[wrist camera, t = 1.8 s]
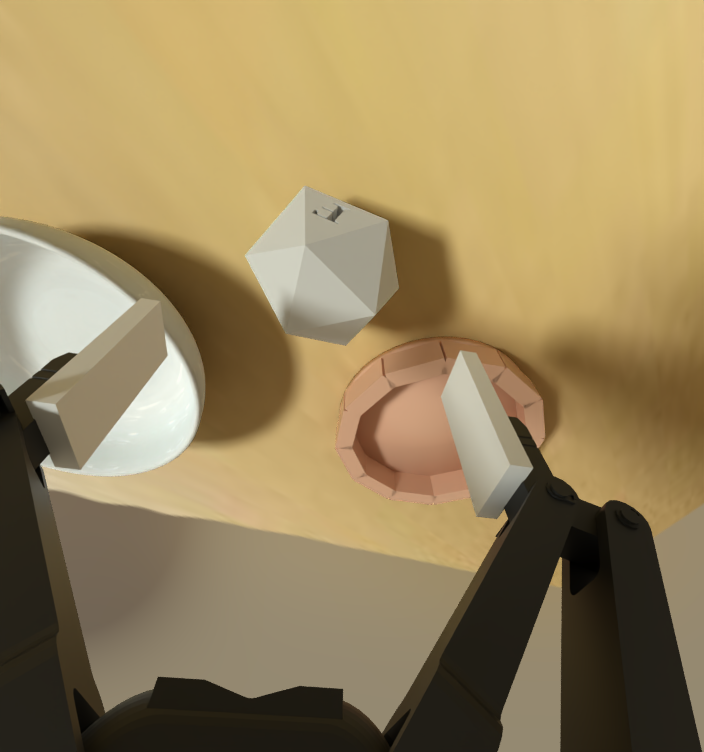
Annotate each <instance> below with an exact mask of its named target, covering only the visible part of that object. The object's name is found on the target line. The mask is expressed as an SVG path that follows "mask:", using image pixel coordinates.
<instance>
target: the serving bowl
mask: <svg viewBox="0 0 704 752" xmlns="http://www.w3.org/2000/svg"><path fill="white" fill-rule="evenodd" d="M141 298H145V299H151V300H157V301H160V302H161V310H162V317H163V324H164V332H165V339H166V347H167V354H168V356H167V357H166V359H165V360H164V361H163V363H162V364H161V365H160V366H159V368H158V369H157V370H156V372H155V373H154V374H153V376H152V377H151V378H150V380H149V381H148V382H147V383H146V385H145V386H144V387H143V389H142V390H141V391H140V393H139V394H138V395H137V397H136V398H135V399H134V401H133V402H132V403H131V404H130V406H129V407H128V408H127V410H126V411H125V412H124V414H123V415H122V416H121V418H120V419H119V420H118V421H117V423H116V424H115V425H114V427H113V428H112V429H111V431H110V432H109V433H108V435H107V436H106V437H105V439H104V440H103V441H102V442H101V444H100V445H99V446H98V448H97V449H96V450H95V452H94V453H93V454H92V456H91V457H90V458H89V459H88V461H87V462H86V463H85V465H84V466H83V467H82V469H81V470H77V469H68V468H60V467H55V466H54V464H53V462H52V460H51V457H50V455H48V456H47V457H46V458H45V460H44V461H43V462H42V463H41V464H40V465H41V466H44V467H47V468H51V469H55V470H60V471H64V472H69V473H75V474H82V475H91V476H126V475H134V474H139V473H143V472H147V471H150V470H153V469H156V468H159V467H161V466H163V465H165V464H167V463H169V462H171V461H172V460H174V459H175V458H177V457H178V456H179V455H180V454H181V453H182V452H184V451H185V450H186V449H187V447H188V446H189V445H190V443H191V442H192V440H193V439H194V437H195V435H196V433H197V430H198V428H199V424H200V421H201V417H202V412H203V408H204V402H205V373H204V367H203V363H202V359H201V355H200V352H199V349H198V347H197V344H196V342H195V340H194V337H193V336H192V334H191V332H190V330H189V328H188V326H187V325H186V323H185V321H184V320H183V318H182V317H181V315H180V314H179V312H178V311H177V310H176V308H175V307H174V306H173V305H172V303H171V302H170V301H169V300H168V299H167V297H166V296H165V295H164V294H163V293H162V292H161V291H160V290H159V289H158V288H157V287H156V286H155V285H154V284H153V283H152V282H151V281H149V280H148V279H147V278H146V277H145V276H144V275H142V274H141V273H140V272H139V271H137V270H136V269H135V268H134V267H132V266H131V265H129V264H128V263H126V262H125V261H123V260H122V259H120V258H119V257H117V256H116V255H114V254H112V253H111V252H109V251H107V250H105V249H104V248H102V247H100V246H98V245H96V244H94V243H92V242H90V241H88V240H85V239H83V238H81V237H79V236H76V235H74V234H71V233H69V232H66V231H63V230H60V229H57V228H54V227H51V226H48V225H44V224H40V223H36V222H32V221H27V220H21V219H15V218H9V217H0V384H1V385H2V386H3V388H4V389H5V391H6V393H7V395H8V396H9V395H10V394H11V393H12V392H14V391H15V390H16V389H17V388H18V387H20V386H21V385H22V384H23V383H24V382H26V381H27V380H28V379H29V378H32V376H33V375H34V374H35V373H37V372H38V371H41V368H43V367H44V366H45V365H46V364H47V363H49V362H50V361H51V360H52V359H55V358H57V357H59V356H61V355H64V354H66V353H68V352H70V353H76V354H78V353H79V352H80V351H82V350H83V349H84V348H85V347H86V346H87V345H88V344H90V343H91V342H92V341H93V340H94V339H95V338H96V337H98V336H99V335H100V334H101V333H102V332H103V331H104V330H105V329H107V328H108V327H109V326H110V325H111V324H112V323H113V322H115V321H116V320H117V319H118V318H119V317H120V316H121V315H123V314H124V313H125V312H126V311H127V310H128V309H129V308H130V307H132V306H133V305H134V304H135V303H136V302H137V301H138V300H140V299H141Z"/></svg>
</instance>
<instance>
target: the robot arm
mask: <svg viewBox="0 0 704 752" xmlns="http://www.w3.org/2000/svg"><path fill="white" fill-rule="evenodd" d="M167 356H168V354H167V347H166V339H165V332H164V324H163V317H162V310H161V302H160V301H157V300H151V299H145V298H141V299H140V300H138V301H137V302H136V303H135V304H134V305H133V306H132V307H130V308H129V309H128V310H127V311H126V312H125V313H124V314H123V315H121V316H120V317H119V318H118V319H117V320H116V321H115V322H113V323H112V324H111V325H110V326H109V327H108V328H107V329H105V330H104V331H103V332H102V333H101V334H100V335H99V336H98V337H96V338H95V339H94V340H93V341H92V342H91V343H90V344H88V345H87V346H86V347H85V348H84V349H83V350H82V351H80V352H79V353H78V354H76V353H70V352H68V353H66V354H64V355H61V356H59V357H57V358H55V359H52V360H51V361H50V362H49V363H47V364H46V365H45V366H44V367H43V368H41V371H38V372H37V373H35V374H34V375H33V376H32V378H29V379H28V380H27V381H26V382H24V383H23V384H22V385H21V386H20V387H18V388H17V389H16V390H15V391H14V392H12V393H11V394H10V395H9V396H8V395H7V393H6V391H5V389H4V388H3V386H2V385H1V384H0V752H497V751H498V748H499V745H500V741H501V738H502V732H503V726H502V724H501V721H500V719H501V713H502V710H503V707H504V704H505V702H506V699H507V697H508V694H509V691H510V688H511V685H512V683H513V680H514V678H515V675H516V672H517V670H518V667H519V664H520V662H521V659H522V657H523V654H524V651H525V648H526V646H527V643H528V640H529V638H530V635H531V632H532V630H533V627H534V624H535V622H536V619H537V616H538V614H539V611H540V608H541V605H542V603H543V600H544V598H545V595H546V592H547V590H548V587H549V584H550V582H551V579H552V576H553V574H554V571H555V568H556V566H557V563H558V560H559V558H560V557H561V558H562V633H561V635H562V636H561V749H560V751H561V752H702V750H701V745H700V741H699V737H698V733H697V728H696V724H695V719H694V715H693V711H692V706H691V702H690V698H689V694H688V689H687V685H686V680H685V676H684V671H683V667H682V662H681V658H680V654H679V650H678V645H677V641H676V636H675V632H674V628H673V623H672V619H671V615H670V611H669V606H668V602H667V597H666V593H665V589H664V584H663V580H662V576H661V571H660V567H659V562H658V558H657V553H656V549H655V545H654V540H653V536H652V532H651V528H650V526H649V524H648V522H647V521H646V519H645V518H644V517H643V516H642V515H641V514H640V513H639V512H638V511H636V510H635V509H634V508H633V507H631V506H629V505H627V504H626V503H623V502H620V501H617V500H610V501H608V502H607V503H605V504H604V506H603V507H602V508H601V507H598V506H596V505H593V504H591V503H588V502H586V501H583V500H581V499H579V498H578V496H577V494H576V492H575V491H574V490H573V489H572V487H571V486H570V485H568V484H567V483H566V482H564V481H563V480H561V479H559V478H557V477H554V476H553V475H552V473H551V471H550V469H549V467H548V465H547V463H546V462H545V460H544V458H543V456H542V454H541V452H540V450H539V449H538V448H537V445H536V443H535V441H534V440H533V439H532V438H533V437H532V436H531V434H530V432H529V430H528V428H527V427H526V426H525V425H524V424H523V423H522V422H521V421H520V420H519V419H518V418H517V417H510V416H507V414H506V412H505V410H504V408H503V406H502V404H501V402H500V400H499V398H498V396H497V394H496V392H495V390H494V388H493V385H492V383H491V381H490V379H489V377H488V375H487V373H486V371H485V369H484V367H483V365H482V363H481V361H480V359H479V357H478V355H477V353H474V352H468V351H462V350H460V352H459V354H458V357H457V359H456V362H455V364H454V366H453V369H452V371H451V374H450V376H449V378H448V381H447V383H446V386H445V388H444V390H443V393H442V395H441V399H442V402H443V406H444V409H445V412H446V416H447V419H448V422H449V426H450V429H451V433H452V436H453V439H454V443H455V446H456V449H457V453H458V456H459V459H460V463H461V466H462V470H463V473H464V476H465V480H466V483H467V486H468V490H469V493H470V497H471V500H472V503H473V507H474V510H475V513H476V517H485V518H494V519H497V518H498V517H499V516H500V514H501V513H502V511H503V510H504V509H505V511H506V514H507V517H508V520H507V521H506V523H505V524H504V525H503V527H502V528H501V529H500V531H499V532H498V534H497V535H496V537H497V538H496V540H495V542H494V543H493V545H492V547H491V548H490V550H489V552H488V554H487V555H486V557H485V559H484V561H483V562H482V564H481V566H480V568H479V569H478V571H477V573H476V575H475V576H474V578H473V580H472V582H471V583H470V585H469V587H468V589H467V590H466V592H465V594H464V596H463V597H462V599H461V601H460V602H459V604H458V606H457V608H456V609H455V611H454V613H453V615H452V616H451V618H450V620H449V622H448V624H447V625H446V627H445V629H444V631H443V632H442V634H441V636H440V638H439V639H438V641H437V643H436V644H435V646H434V648H433V650H432V651H431V653H430V655H429V657H428V658H427V660H426V662H425V663H424V665H423V667H422V669H421V670H420V672H419V674H418V676H417V677H416V679H415V681H414V683H413V684H412V686H411V688H410V690H409V691H408V693H407V695H406V696H405V698H404V700H403V701H402V703H401V704H400V705H399V707H398V709H397V710H396V711H395V713H394V715H393V716H392V718H391V719H390V721H389V723H388V724H387V726H386V728H385V730H384V731H383V733H381V732H380V731H379V729H378V728H377V727H376V725H375V724H374V723H373V722H372V721H371V720H370V719H369V718H368V717H367V716H366V715H365V714H363V713H362V712H361V711H360V710H359V709H357V708H355V707H354V706H352V705H351V704H349V703H347V702H345V701H343V689H334V688H319V687H304V686H298V687H294V688H291V689H287V690H283V691H279V692H275V693H272V694H268V695H264V696H261V697H257V698H246V697H243V696H241V695H239V694H236V693H234V692H232V691H230V690H227V689H225V688H223V687H220V686H218V685H216V684H213V683H211V682H209V681H206V680H199V679H184V678H168V677H158V678H157V681H156V684H155V687H154V689H153V690H149V691H146V692H143V693H141V694H138V695H135V696H133V697H131V698H129V699H127V700H125V701H124V702H122V703H120V704H118V705H117V706H115V707H114V708H112V709H111V710H109V711H108V712H106V713H105V711H104V707H103V703H102V700H101V697H100V694H99V691H98V689H97V686H96V684H95V681H94V678H93V675H92V672H91V667H90V663H89V659H88V655H87V651H86V647H85V642H84V638H83V635H82V630H81V626H80V622H79V618H78V613H77V609H76V606H75V601H74V597H73V592H72V588H71V584H70V580H69V576H68V572H67V567H66V563H65V559H64V555H63V551H62V547H61V542H60V539H59V534H58V530H57V526H56V521H55V517H54V513H53V509H52V505H51V501H50V497H49V492H48V488H47V484H46V480H45V476H44V471H43V469H42V467H41V465H40V464H41V463H42V462H43V461H44V460H45V458H46V457H47V456H48V455H50V457H51V460H52V462H53V464H54V466H55V467H60V468H68V469H77V470H81V469H82V467H83V466H84V465H85V463H86V462H87V461H88V459H89V458H90V457H91V456H92V454H93V453H94V452H95V450H96V449H97V448H98V446H99V445H100V444H101V442H102V441H103V440H104V439H105V437H106V436H107V435H108V433H109V432H110V431H111V429H112V428H113V427H114V425H115V424H116V423H117V421H118V420H119V419H120V418H121V416H122V415H123V414H124V412H125V411H126V410H127V408H128V407H129V406H130V404H131V403H132V402H133V401H134V399H135V398H136V397H137V395H138V394H139V393H140V391H141V390H142V389H143V387H144V386H145V385H146V383H147V382H148V381H149V380H150V378H151V377H152V376H153V374H154V373H155V372H156V370H157V369H158V368H159V366H160V365H161V364H162V363H163V361H164V360H165V359H166V357H167Z"/></svg>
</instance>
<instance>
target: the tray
mask: <svg viewBox="0 0 704 752" xmlns="http://www.w3.org/2000/svg"><path fill="white" fill-rule="evenodd" d="M460 350H462V351H468V352H474V353H477V355H478V357H479V359H480V361H481V363H482V365H483V367H484V369H485V371H486V373H487V375H488V377H489V379H490V381H491V383H492V385H493V388H494V390H495V392H496V394H497V396H498V398H499V400H500V402H501V404H502V406H503V408H504V410H505V412H506V414H507V416H510V417H517V418H518V419H519V420H520V421H521V422H522V423H523V424H524V425H525V426H526V427H527V428H528V430H529V432H530V434H531V436H532V437H533V438H532V439H533V440H534V441H535V443H536V445H537V448H539V447H540V445H541V444H542V442H543V441H544V440H545V439H544V438H545V426H544V410H543V400H542V398H541V396H540V394H539V393H538V391H537V390H536V388H535V386H534V385H533V383H532V381H531V380H530V379H529V378H528V377H527V376H526V375H525V374H524V373H522V372H521V371H520V369H519V368H518V366H517V365H516V364H515V363H514V362H513V361H512V360H511V359H510V358H509V357H508V356H506V355H505V354H504V353H502V352H501V351H499V350H497V349H496V348H494V347H492V346H490V345H487V344H484V343H482V342H479V341H475V340H471V339H466V338H458V337H433V338H424V339H419V340H415V341H411V342H407V343H404V344H402V345H399V346H396V347H394V348H392V349H390V350H387V351H385V352H383V353H382V354H380V355H379V356H377V357H375V358H374V359H372V360H371V361H370V362H369V363H367V364H366V365H365V366H364V367H362V369H361V370H360V371H359V372H358V373H357V374H356V375H355V376H354V377H353V379H352V380H351V382H350V383H349V385H348V386H347V388H346V390H345V392H344V394H343V398H342V401H341V405H340V414H339V419H338V424H337V428H336V444H335V448H336V451H337V453H338V455H339V456H340V458H341V460H342V462H343V463H344V465H345V467H346V469H347V471H348V472H349V474H350V476H351V478H352V479H354V481H355V482H357V483H359V484H361V485H363V486H365V487H366V488H368V489H370V490H372V491H374V492H376V493H377V494H379V495H381V496H383V497H385V498H387V499H388V498H389V500H397V501H405V502H414V503H422V504H430V505H432V504H433V503H434V505H435V504H440V503H446V502H451V501H456V500H461V499H467V498H471V497H470V493H469V490H468V486H467V483H466V480H465V476H464V473H463V470H462V466H461V463H460V459H459V456H458V453H457V449H456V446H455V443H454V439H453V436H452V433H451V429H450V426H449V422H448V419H447V416H446V412H445V409H444V406H443V402H442V399H441V395H442V393H443V390H444V388H445V386H446V383H447V381H448V378H449V376H450V374H451V371H452V369H453V366H454V364H455V362H456V359H457V357H458V354H459V352H460Z"/></svg>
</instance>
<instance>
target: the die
mask: <svg viewBox="0 0 704 752" xmlns="http://www.w3.org/2000/svg"><path fill="white" fill-rule="evenodd" d="M245 257H246V259H247V260H248V262H249V264H250V266H251V268H252V270H253V272H254V274H255V276H256V278H257V280H258V282H259V283H260V285H261V287H262V289H263V291H264V293H265V295H266V297H267V299H268V301H269V303H270V304H271V306H272V308H273V310H274V312H275V314H276V316H277V318H278V320H279V322H280V324H281V325H282V327H283V329H284V331H285V333H286V334H290V335H295V336H300V337H305V338H310V339H315V340H320V341H325V342H330V343H335V344H340V345H345V346H346V345H347V344H348V343H349V342H350V341H351V340H352V339H353V338H354V337H355V336H356V335H357V334H358V332H359V331H360V330H361V329H362V328H363V327H364V326H365V325H366V324H367V323H368V322H369V321H370V320H371V319H372V318H373V317H374V316H375V315H376V314H377V313H378V312H379V311H380V309H381V308H382V307H383V306H384V305H385V304H386V303H387V301H388V300H389V299H390V298H391V297H392V296H393V295H394V293H395V292H396V291H397V290H398V289H399V284H398V278H397V272H396V266H395V259H394V253H393V247H392V241H391V235H390V228H389V222H388V220H386V219H384V218H382V217H379V216H377V215H374V214H372V213H370V212H367V211H365V210H362V209H360V208H358V207H355V206H353V205H350V204H348V203H346V202H343V201H341V200H338V199H336V198H334V197H331V196H329V195H326V194H324V193H322V192H319V191H317V190H314V189H312V188H310V187H307V186H304V187H303V188H302V189H301V191H300V192H299V193H298V194H297V195H296V196H295V198H294V199H293V200H292V201H291V202H290V203H289V205H288V206H287V207H286V208H285V209H284V210H283V212H282V213H281V214H280V215H279V216H278V217H277V219H276V220H275V221H274V222H273V223H272V224H271V225H270V227H269V228H268V229H267V230H266V231H265V232H264V234H263V235H262V236H261V237H260V238H259V239H258V241H257V242H256V243H255V244H254V245H253V246H252V248H251V249H250V250H249V251H248V252H247V253H246V255H245Z"/></svg>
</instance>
